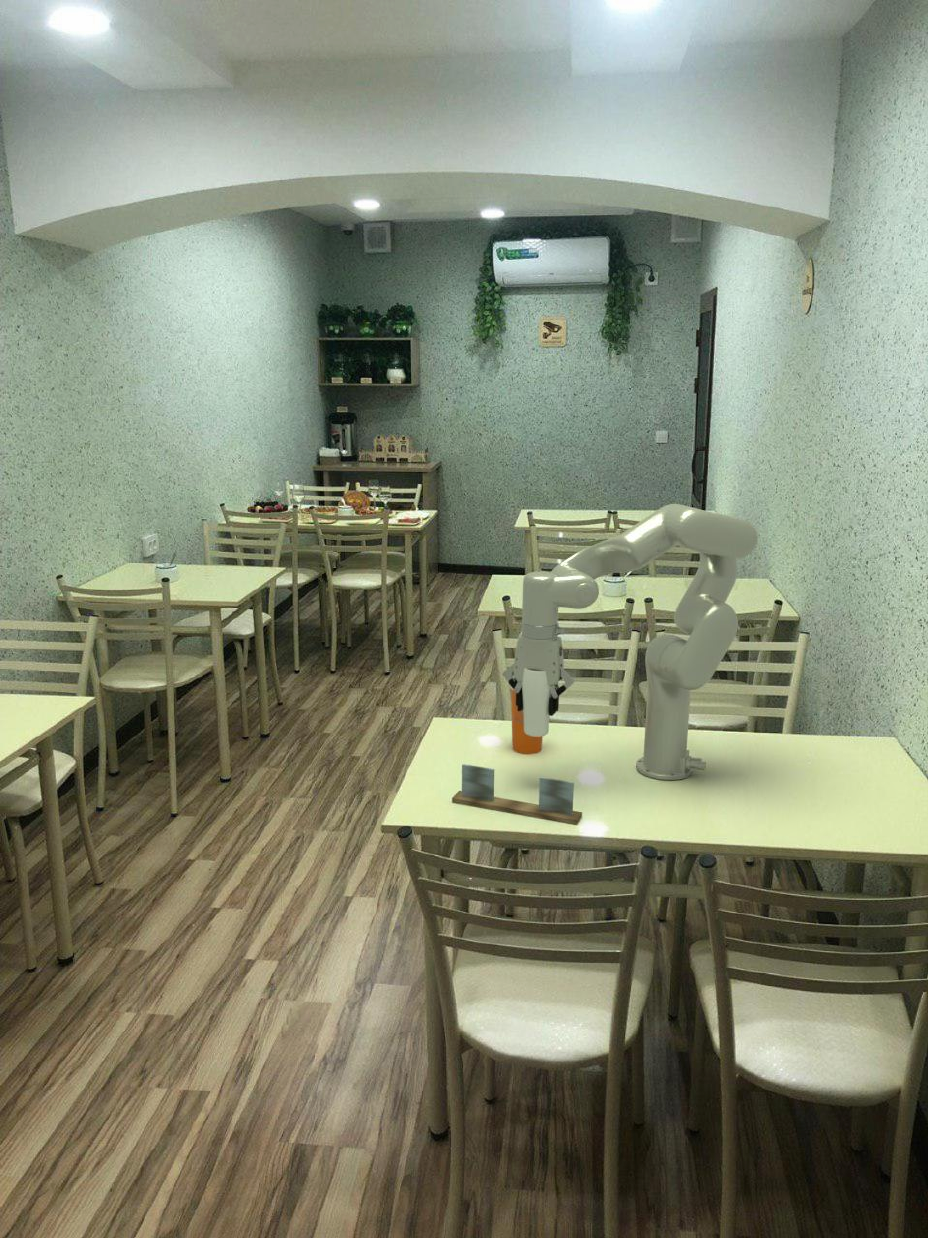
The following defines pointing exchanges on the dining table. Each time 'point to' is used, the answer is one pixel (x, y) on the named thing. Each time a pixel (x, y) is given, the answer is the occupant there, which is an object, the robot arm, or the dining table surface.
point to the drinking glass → (535, 703)
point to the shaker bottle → (522, 731)
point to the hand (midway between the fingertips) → (536, 710)
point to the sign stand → (551, 801)
